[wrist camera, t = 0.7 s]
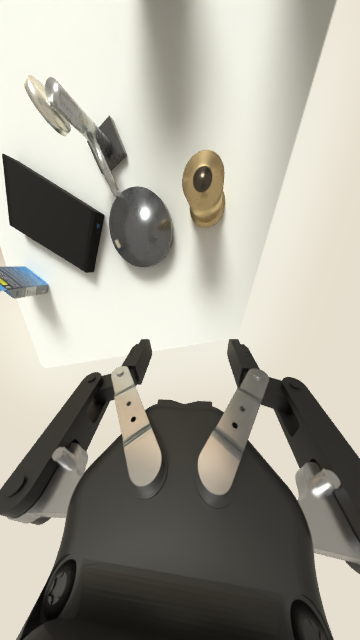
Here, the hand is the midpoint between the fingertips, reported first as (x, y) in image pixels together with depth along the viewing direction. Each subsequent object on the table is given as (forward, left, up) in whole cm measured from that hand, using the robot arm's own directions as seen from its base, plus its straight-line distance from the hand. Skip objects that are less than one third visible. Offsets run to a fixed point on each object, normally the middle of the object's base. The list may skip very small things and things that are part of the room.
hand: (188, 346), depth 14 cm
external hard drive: (-30, -28, -22) cm, 47 cm away
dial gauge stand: (-29, -8, -21) cm, 37 cm away
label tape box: (-23, -49, -22) cm, 58 cm away
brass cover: (-16, +6, -22) cm, 28 cm away
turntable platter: (-18, -8, -21) cm, 29 cm away
